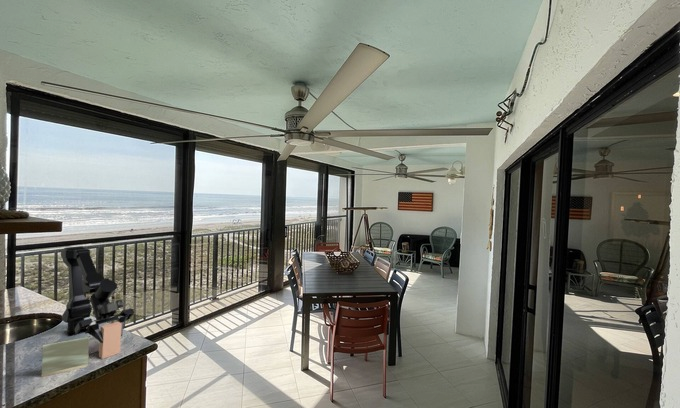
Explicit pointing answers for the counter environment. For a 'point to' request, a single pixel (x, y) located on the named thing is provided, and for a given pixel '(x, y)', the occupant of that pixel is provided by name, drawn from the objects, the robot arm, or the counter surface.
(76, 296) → the robot arm
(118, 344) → the salmon pink block
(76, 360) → the pale green box
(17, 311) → the counter surface
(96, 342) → the seashell
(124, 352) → the counter surface
